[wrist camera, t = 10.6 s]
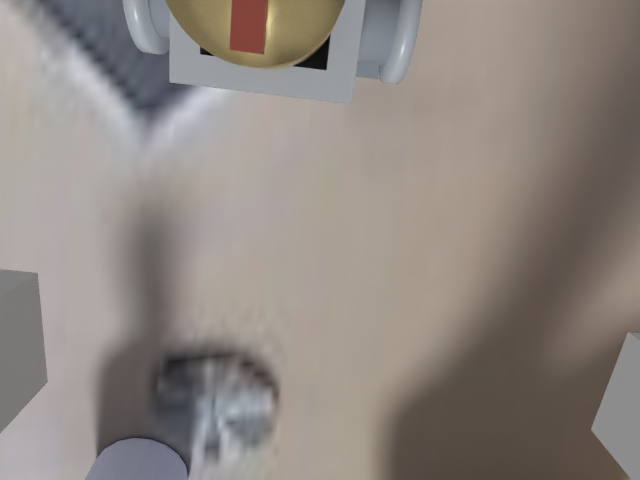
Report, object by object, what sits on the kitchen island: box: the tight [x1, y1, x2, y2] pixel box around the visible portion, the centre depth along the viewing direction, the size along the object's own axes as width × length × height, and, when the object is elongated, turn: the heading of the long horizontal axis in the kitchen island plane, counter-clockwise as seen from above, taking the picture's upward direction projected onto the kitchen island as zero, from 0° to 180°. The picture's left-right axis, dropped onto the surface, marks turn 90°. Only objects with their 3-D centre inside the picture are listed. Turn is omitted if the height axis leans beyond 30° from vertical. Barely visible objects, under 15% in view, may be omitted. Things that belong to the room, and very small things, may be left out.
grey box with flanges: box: [123, 0, 422, 105], centre depth 26 cm, size 16×9×10 cm, turn 83°
